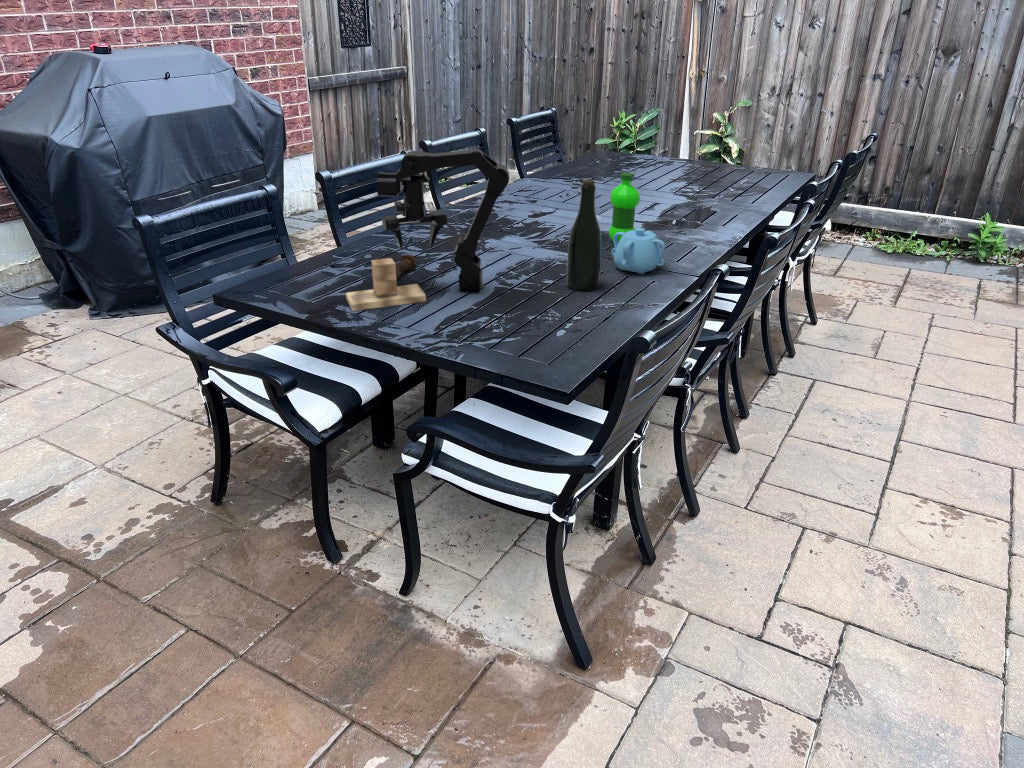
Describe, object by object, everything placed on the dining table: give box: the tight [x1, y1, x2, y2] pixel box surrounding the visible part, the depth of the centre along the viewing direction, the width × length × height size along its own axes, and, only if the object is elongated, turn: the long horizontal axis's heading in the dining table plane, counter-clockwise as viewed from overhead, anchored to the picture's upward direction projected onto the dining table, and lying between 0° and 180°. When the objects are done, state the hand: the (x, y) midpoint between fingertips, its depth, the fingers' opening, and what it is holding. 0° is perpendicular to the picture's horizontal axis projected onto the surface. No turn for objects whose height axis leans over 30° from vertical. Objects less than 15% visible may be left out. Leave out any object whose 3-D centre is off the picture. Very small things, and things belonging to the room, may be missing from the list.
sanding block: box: [370, 257, 398, 298], centre depth 219 cm, size 6×5×10 cm
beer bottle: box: [565, 179, 602, 292], centre depth 227 cm, size 10×10×33 cm
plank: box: [345, 283, 427, 312], centre depth 222 cm, size 22×10×2 cm, turn 111°
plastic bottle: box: [608, 172, 641, 243], centre depth 267 cm, size 10×10×25 cm
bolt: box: [395, 253, 418, 280], centre depth 240 cm, size 6×5×15 cm
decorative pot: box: [610, 227, 666, 275], centre depth 246 cm, size 16×16×14 cm
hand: (416, 248), depth 224 cm, fingers open, 9 cm apart
